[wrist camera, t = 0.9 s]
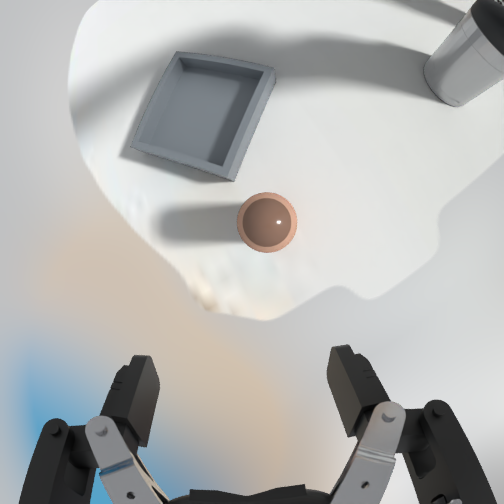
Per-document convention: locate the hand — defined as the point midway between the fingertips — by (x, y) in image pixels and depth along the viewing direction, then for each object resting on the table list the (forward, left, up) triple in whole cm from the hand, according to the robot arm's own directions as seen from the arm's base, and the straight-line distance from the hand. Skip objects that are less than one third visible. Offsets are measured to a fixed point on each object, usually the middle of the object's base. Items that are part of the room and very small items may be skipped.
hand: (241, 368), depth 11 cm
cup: (-6, -2, -25) cm, 26 cm away
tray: (-17, -17, -25) cm, 35 cm away
